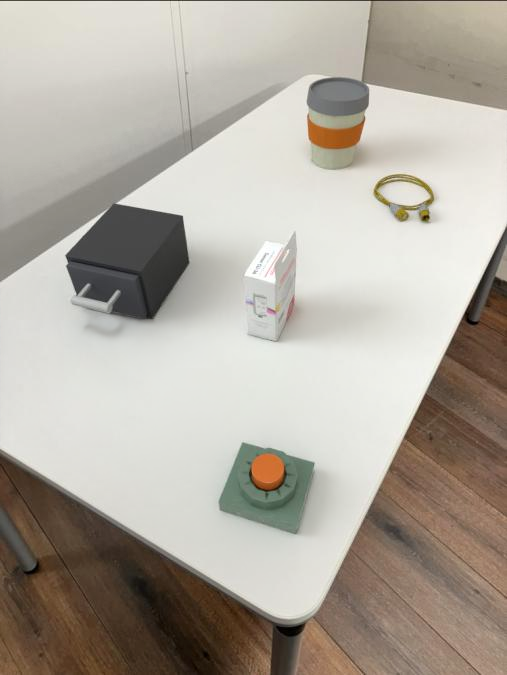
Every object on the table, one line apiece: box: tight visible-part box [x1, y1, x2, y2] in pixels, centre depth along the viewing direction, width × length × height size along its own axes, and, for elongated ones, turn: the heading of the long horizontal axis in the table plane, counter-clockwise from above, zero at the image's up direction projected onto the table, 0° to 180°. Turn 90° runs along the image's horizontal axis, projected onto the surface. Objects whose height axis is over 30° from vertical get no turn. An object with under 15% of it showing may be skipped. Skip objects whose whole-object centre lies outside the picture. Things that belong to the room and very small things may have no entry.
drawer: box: [65, 261, 148, 320], centre depth 80 cm, size 18×11×8 cm, turn 161°
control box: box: [218, 441, 316, 535], centre depth 58 cm, size 9×8×4 cm
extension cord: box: [373, 173, 435, 222], centre depth 100 cm, size 12×16×2 cm
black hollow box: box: [64, 203, 190, 320], centre depth 82 cm, size 15×13×10 cm
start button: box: [251, 454, 284, 490], centre depth 56 cm, size 4×4×2 cm
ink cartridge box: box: [243, 230, 298, 342], centre depth 73 cm, size 9×5×15 cm, turn 158°
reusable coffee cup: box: [306, 76, 370, 170], centre depth 107 cm, size 13×13×15 cm
